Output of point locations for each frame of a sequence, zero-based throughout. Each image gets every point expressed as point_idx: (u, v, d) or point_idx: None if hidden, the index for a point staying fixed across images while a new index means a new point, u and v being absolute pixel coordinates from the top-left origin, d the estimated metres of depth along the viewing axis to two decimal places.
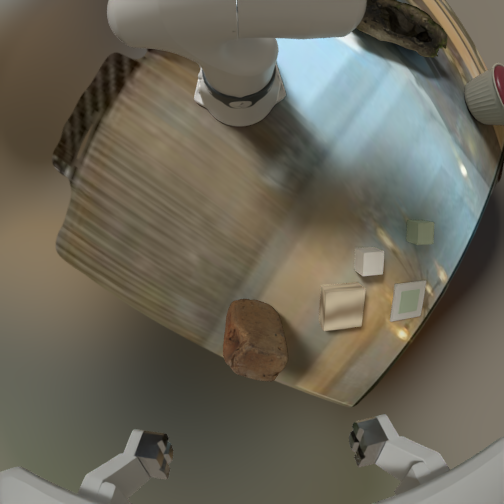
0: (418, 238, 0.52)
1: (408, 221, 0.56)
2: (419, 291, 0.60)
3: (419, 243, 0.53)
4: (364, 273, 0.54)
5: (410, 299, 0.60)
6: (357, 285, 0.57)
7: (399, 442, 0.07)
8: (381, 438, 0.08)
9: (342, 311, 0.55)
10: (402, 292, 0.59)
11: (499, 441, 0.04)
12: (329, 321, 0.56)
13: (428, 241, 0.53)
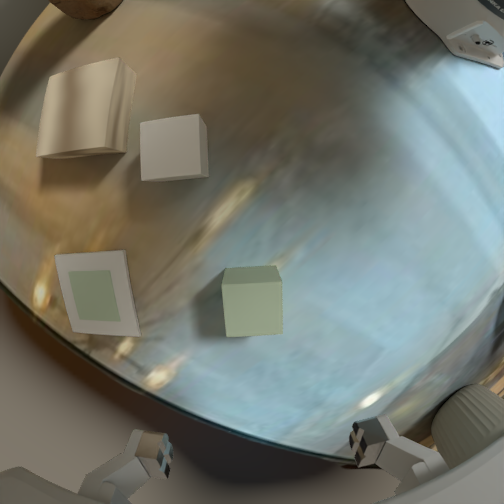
0: (240, 285, 0.22)
1: (274, 267, 0.27)
2: (116, 321, 0.28)
3: (225, 291, 0.23)
4: (146, 125, 0.19)
5: (96, 298, 0.27)
6: (118, 141, 0.22)
7: (399, 442, 0.07)
8: (381, 438, 0.08)
9: (72, 101, 0.18)
10: (108, 273, 0.26)
11: (499, 441, 0.04)
12: (62, 80, 0.18)
13: (231, 320, 0.23)
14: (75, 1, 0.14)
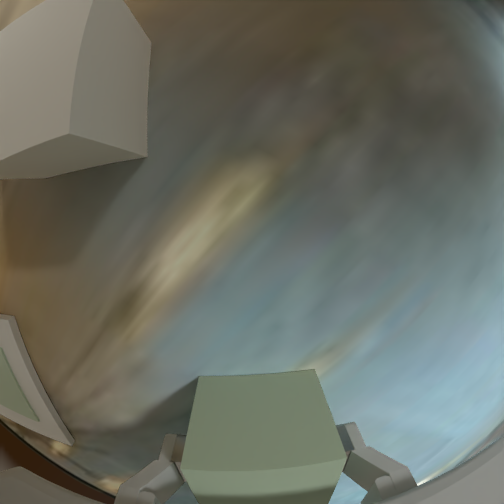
0: (232, 473, 0.06)
1: (313, 380, 0.10)
2: (35, 419, 0.11)
3: (194, 478, 0.06)
4: None
5: (1, 383, 0.10)
6: None
7: (365, 453, 0.07)
8: (346, 447, 0.08)
9: None
10: (1, 352, 0.10)
11: (499, 441, 0.04)
12: None
13: None
14: None
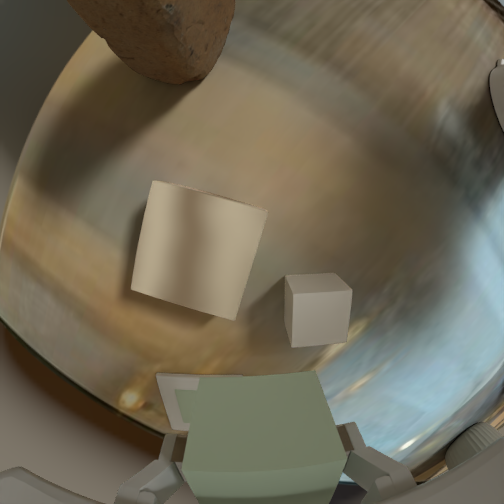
0: (233, 474, 0.06)
1: (314, 382, 0.10)
2: None
3: (195, 479, 0.06)
4: (300, 298, 0.21)
5: None
6: None
7: (365, 452, 0.07)
8: (346, 447, 0.08)
9: (192, 244, 0.20)
10: None
11: (499, 441, 0.04)
12: (176, 201, 0.19)
13: None
14: (162, 65, 0.16)
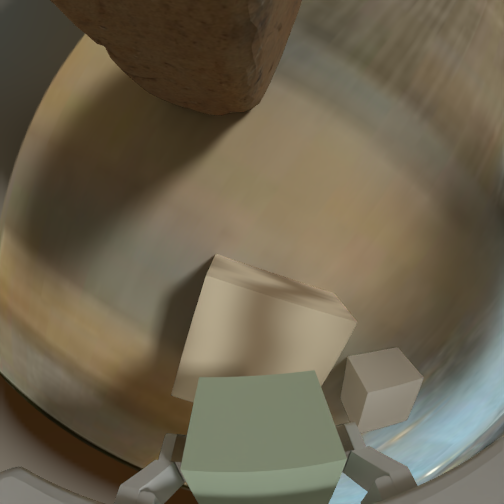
0: (233, 474, 0.06)
1: (313, 381, 0.10)
2: None
3: (194, 479, 0.06)
4: (373, 395, 0.16)
5: None
6: None
7: (365, 452, 0.07)
8: (346, 447, 0.08)
9: (259, 358, 0.15)
10: None
11: (499, 441, 0.04)
12: (240, 307, 0.14)
13: None
14: (206, 95, 0.11)
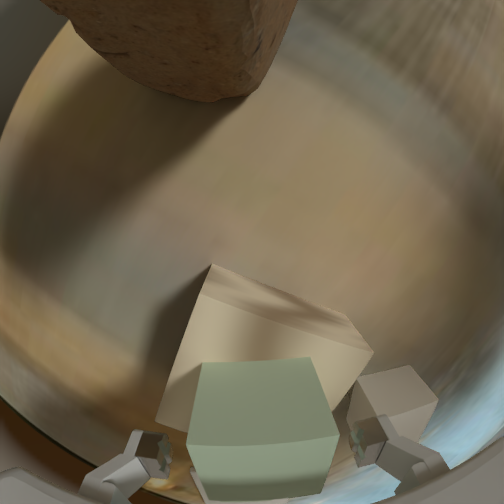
0: (234, 449, 0.07)
1: (308, 366, 0.11)
2: (266, 500, 0.21)
3: (198, 454, 0.07)
4: None
5: None
6: None
7: (399, 442, 0.07)
8: (381, 438, 0.08)
9: None
10: None
11: (499, 441, 0.04)
12: (239, 333, 0.12)
13: (217, 487, 0.08)
14: (190, 70, 0.08)
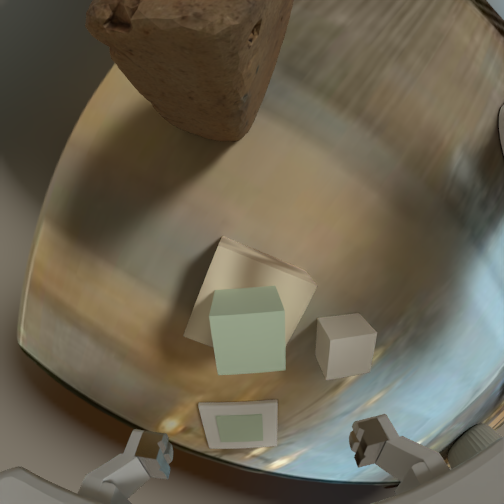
0: (232, 317, 0.18)
1: (274, 289, 0.22)
2: (259, 440, 0.32)
3: (214, 324, 0.18)
4: (335, 342, 0.24)
5: (244, 430, 0.31)
6: None
7: (399, 442, 0.07)
8: (381, 438, 0.08)
9: None
10: (260, 416, 0.31)
11: (499, 441, 0.04)
12: (238, 268, 0.22)
13: (223, 357, 0.18)
14: (214, 133, 0.18)
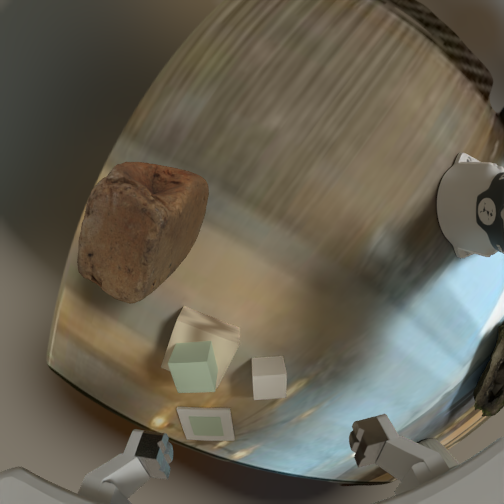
0: (179, 364, 0.30)
1: (209, 343, 0.34)
2: (220, 435, 0.45)
3: (171, 367, 0.31)
4: (256, 378, 0.37)
5: (209, 427, 0.44)
6: None
7: (399, 442, 0.07)
8: (381, 438, 0.08)
9: None
10: (219, 418, 0.43)
11: (499, 441, 0.04)
12: (189, 332, 0.35)
13: (179, 383, 0.31)
14: None
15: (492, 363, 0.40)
